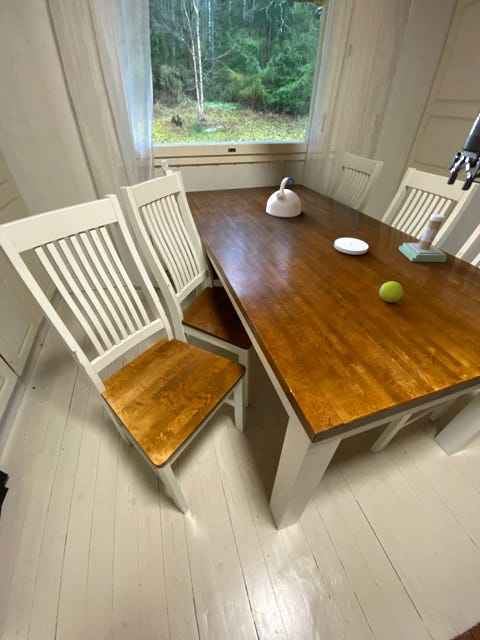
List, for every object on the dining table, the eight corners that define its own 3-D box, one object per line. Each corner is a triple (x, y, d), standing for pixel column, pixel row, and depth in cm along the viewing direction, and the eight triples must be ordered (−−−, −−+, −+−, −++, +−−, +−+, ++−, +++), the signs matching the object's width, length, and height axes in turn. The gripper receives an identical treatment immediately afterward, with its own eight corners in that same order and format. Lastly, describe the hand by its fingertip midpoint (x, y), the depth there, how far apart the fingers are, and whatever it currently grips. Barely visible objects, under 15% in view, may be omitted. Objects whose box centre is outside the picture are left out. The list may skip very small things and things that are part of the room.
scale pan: (427, 246, 119) (429, 243, 118) (439, 256, 112) (441, 252, 111) (407, 246, 119) (408, 243, 118) (417, 256, 112) (419, 252, 111)
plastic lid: (373, 252, 118) (375, 246, 116) (351, 259, 112) (353, 253, 111) (348, 240, 127) (350, 235, 126) (326, 246, 122) (328, 241, 120)
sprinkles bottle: (425, 245, 116) (440, 213, 108) (431, 250, 113) (448, 217, 104) (415, 245, 116) (429, 213, 107) (421, 250, 112) (436, 217, 104)
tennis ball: (378, 292, 93) (385, 275, 89) (399, 298, 91) (407, 281, 86) (374, 302, 89) (381, 284, 84) (397, 308, 86) (405, 290, 82)
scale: (429, 249, 121) (432, 243, 119) (445, 262, 112) (449, 255, 110) (398, 249, 121) (400, 242, 119) (411, 261, 112) (414, 254, 110)
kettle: (259, 213, 156) (261, 178, 145) (275, 204, 170) (278, 172, 159) (292, 220, 148) (297, 183, 137) (306, 210, 162) (311, 176, 151)
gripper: (510, 136, 84) (480, 192, 94) (478, 131, 95) (455, 182, 105) (486, 136, 84) (459, 192, 94) (457, 131, 95) (435, 182, 105)
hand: (457, 187), depth 99 cm, fingers open, 8 cm apart
